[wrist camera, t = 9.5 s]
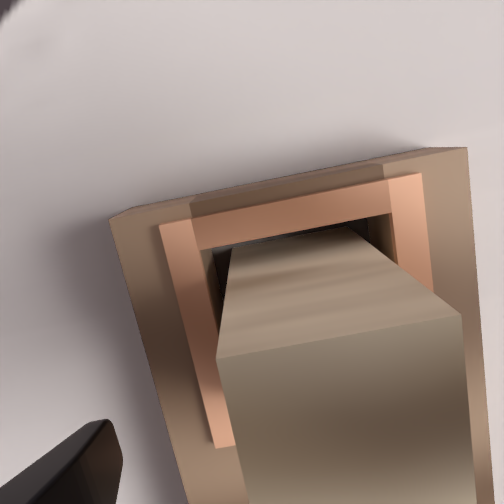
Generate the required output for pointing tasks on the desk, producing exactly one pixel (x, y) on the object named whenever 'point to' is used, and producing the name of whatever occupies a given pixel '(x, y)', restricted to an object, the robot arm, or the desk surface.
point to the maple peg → (343, 377)
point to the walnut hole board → (275, 223)
